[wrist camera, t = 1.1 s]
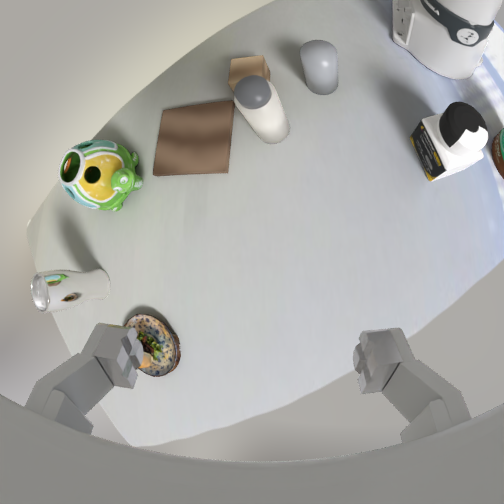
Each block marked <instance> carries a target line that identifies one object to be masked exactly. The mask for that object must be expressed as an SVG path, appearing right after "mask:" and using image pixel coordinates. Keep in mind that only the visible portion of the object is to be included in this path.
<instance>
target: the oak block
mask: <svg viewBox="0 0 504 504" xmlns="http://www.w3.org/2000/svg"><path fill="white" fill-rule="evenodd" d="M251 75H258V76H261V77H263V78H265V79H266V80H267V81H269V82H270V70H269V68H268V66H267V63H266V61H265V59H264V57H263V55H262V56H252V57H243V58H236V59H231V65H230V72H229V79H228V84H229V86H230V87H231V89H232V90H233V91H234V88H235V86H236V84H237V83H238V82H239V81H240V80H241V79H243V78H244V77H247V76H251Z"/></svg>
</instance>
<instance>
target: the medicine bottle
mask: <svg viewBox="0 0 504 504" xmlns="http://www.w3.org/2000/svg"><path fill="white" fill-rule="evenodd" d="M487 139H488V131H487V127H486V124H485V121H484V119H483V118H482V116H481V115H480V114H479V112H478V111H477V110H476V109H474V108H473V107H472V106H470V105H468V104H466V103H463V102H454V103H452V104H450V105H449V106H448V108H447V109H446V110H445V112H444V113H441V114H437V115H434V116H430V117H426V118H423V119H422V120H421V122H420V123H419V125H418V126H417V128H416V129H415V131H414V132H413V134H412V135H411V137H410V140H411V142H412V144H413V146H414V148H415V151H416V153H417V155H418V157H419V159H420V161H421V163H422V166H423V168H424V170H425V173H426V175H427V177H428V180H429V181H430V182H432V181H435V180H437V179H440V178H443V177H446V176H448V175H451V174H454V173H457V172H459V171H462V170H464V169H466V168H468V167H469V166H471V165H472V164H474V163H476V162H477V161H479V160H480V159H482V158H483V157H484V155H483V153H482V150H481V148H483V147H484V146H485V144H486V143H487Z"/></svg>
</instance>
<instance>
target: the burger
mask: <svg viewBox="0 0 504 504" xmlns="http://www.w3.org/2000/svg"><path fill="white" fill-rule="evenodd" d="M124 326H125V327H132V328H135V330H136V332H137V334H138V335H137V337H136V339H137V340H139V341H140V342H141V344H142V346H143V361H142V364H141V366H140V367H139V368H138V369H140V370H141V371H143V372H144V373H146V374H148V375H151V376H153V377H155V376H156V377H160V376H164V375H166V374H168V373H170V372H171V371H173V370H174V369H175V368H176V367H177V365H178V363H179V361H180V357H181V353H180V351H179V349H180V348H179V344H180V343H179V338H178V336H177V335H175V334H172V333H171V332H170V330H169V329H168V327H167V326H166V325H165V324H164V323H163V322H161V321H159V320H158V319H157V318H155V317H153V316H151V315H147V314H136V315H135V316H133V317H132V318H131V319H129V320H128V321H127V323H126V324H125V325H124Z"/></svg>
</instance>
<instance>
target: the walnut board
mask: <svg viewBox="0 0 504 504" xmlns="http://www.w3.org/2000/svg"><path fill="white" fill-rule="evenodd" d="M234 107H235V103H234V102H233V100H231V101H221V102H213V103H206V104H199V105H192V106H186V107H180V108H174V109H169V110H164V111H163V114H162V119H161V124H160V130H159V136H158V142H157V148H156V155H155V162H154V170H153V175H155V176H169V175H187V174H211V173H228V168H229V157H230V146H231V136H232V126H233V117H234Z"/></svg>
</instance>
